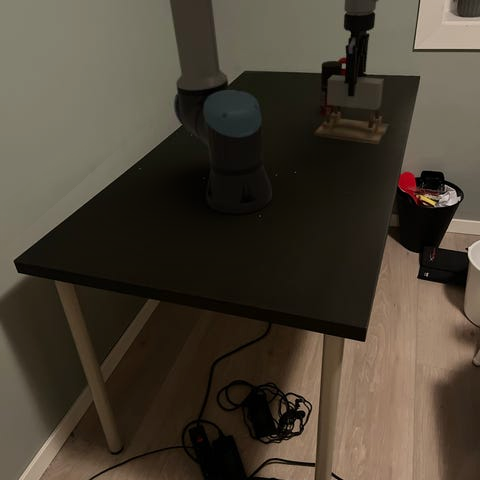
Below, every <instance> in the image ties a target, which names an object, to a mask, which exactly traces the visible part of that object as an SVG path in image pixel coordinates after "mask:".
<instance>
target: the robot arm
mask: <svg viewBox="0 0 480 480" xmlns="http://www.w3.org/2000/svg"><path fill="white" fill-rule="evenodd" d="M377 2H379V0H344V10H343V11H344V13H345V14H343V29H344V30H345V31H346V32H350V35H349V37H348V39H347V40H348V41H347V44H346V45H345V58H346V64H345V68H344V69H345V81H344V83H345V84H347V98H346V108H353V109H357V108H356V107H357V93H358V83H357V78H358V77H363V78H367V76H368V75H367V73H366V71H367V61H368V51H369V50H368V49H369V40H370V39H369V38H370V37H371V35H370V33H368V32H367V31H371V30H373V29H374V28H375V22H376V21H375V20H376V13H375V10H376V7H377V6H376V5H377ZM169 3H170V4H169V5H170V11H171V18H172V23H173V29H174V36H175V41H176V49H177V55H178V62H179V67H180V76H179V77H178V78H177V80H176V82H175V83H176V90H177V91H176V92H177V93H176V94H175V96H174V100H173V107H174V108H173V109H174V112H175V116H176V118H177V120H178V121H179V123H180V124H181V125H182V127H183V128H184V129H185V131H187V132H190V133H191V134H193V136H195V137H196V138H197V139H199V140H200V141H201V142H203V143H204V144H205V145H206V146H207V148H208V154H209V155H208V156H209V163H210V172H209V178H208V181H207V186H206V192H205V193H206V201H207V204H208V206H209V207H210V208H212V209H213V210H215V211H217V212H219V213H222V214H226V215H227V214H228V215H243V214H249V213H252V212H256V211H259V210H261V209H262V208H265V207H266V206H267V205H268V204H269V203H270V202H271V200H272V197H273V192H272V189H273V188H272V184H271V181H270V180H269V177H268V174H267V171H266V170H265V167H264V163H263V161H264V160H263V159H264V158H263V144H262V143H263V141H262V114H261V108H260V104H259V102H258V100H257V98H256V97H255V96H253V95H252V94H251V93H248V92H246V91H243V90H240V91H238V90H237V89H236V90H235V89H230V88H229V80H228V75H227V74H225V73H224V72H223V71H222V70H221V69H220V62H219V53H218V44H217V36H216V26H215V16H214V8H213V0H169Z"/></svg>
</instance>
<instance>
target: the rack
mask: <svg viewBox="0 0 480 480" xmlns="http://www.w3.org/2000/svg"><path fill="white" fill-rule="evenodd" d="M330 113H331V108H326V116H325V121H324V122H323V123H322V124H320V126H319V127H318V128H317V129H316V130H315V132H314V137H318V138H319V137H320V138H327V139H332V140H333V139H336V140H341V141H342V140H343V141H347V142H348V141H350V142H355V143H356V142H357V143H363V144H372V145H379V144H380V142H381V141H382V138H383V137H384V136H385V134H386V132H387V131H388V130H389V126H390V124H389V123H382V118H383V116H382V115H380V113H381V106H380V107H379V108H378V110H374V112H372V111H371V112H369V116H368V121H363V120H355V119H346V118H341V115H342V112H341V111H340V112H338V106H335V105H334V112H333V113H332V114H331V115H330Z"/></svg>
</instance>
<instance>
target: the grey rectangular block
mask: <svg viewBox="0 0 480 480" xmlns="http://www.w3.org/2000/svg"><path fill="white" fill-rule="evenodd" d="M344 81H345V76H338V75H332V76H331V77H330V78H329V79H328V91H327V105H335V106H340V107H346V98H347V84H345V83H344ZM357 83H358V93H357V107H356V108H355V109H357V108H358V109H365V110H374V111H376V110H378V108H379V107H380V108H381V105H382V100H383V97H382V96H383V89H384V78H376V77H375V78H374V77H358V78H357ZM346 108H347V107H346Z"/></svg>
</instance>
